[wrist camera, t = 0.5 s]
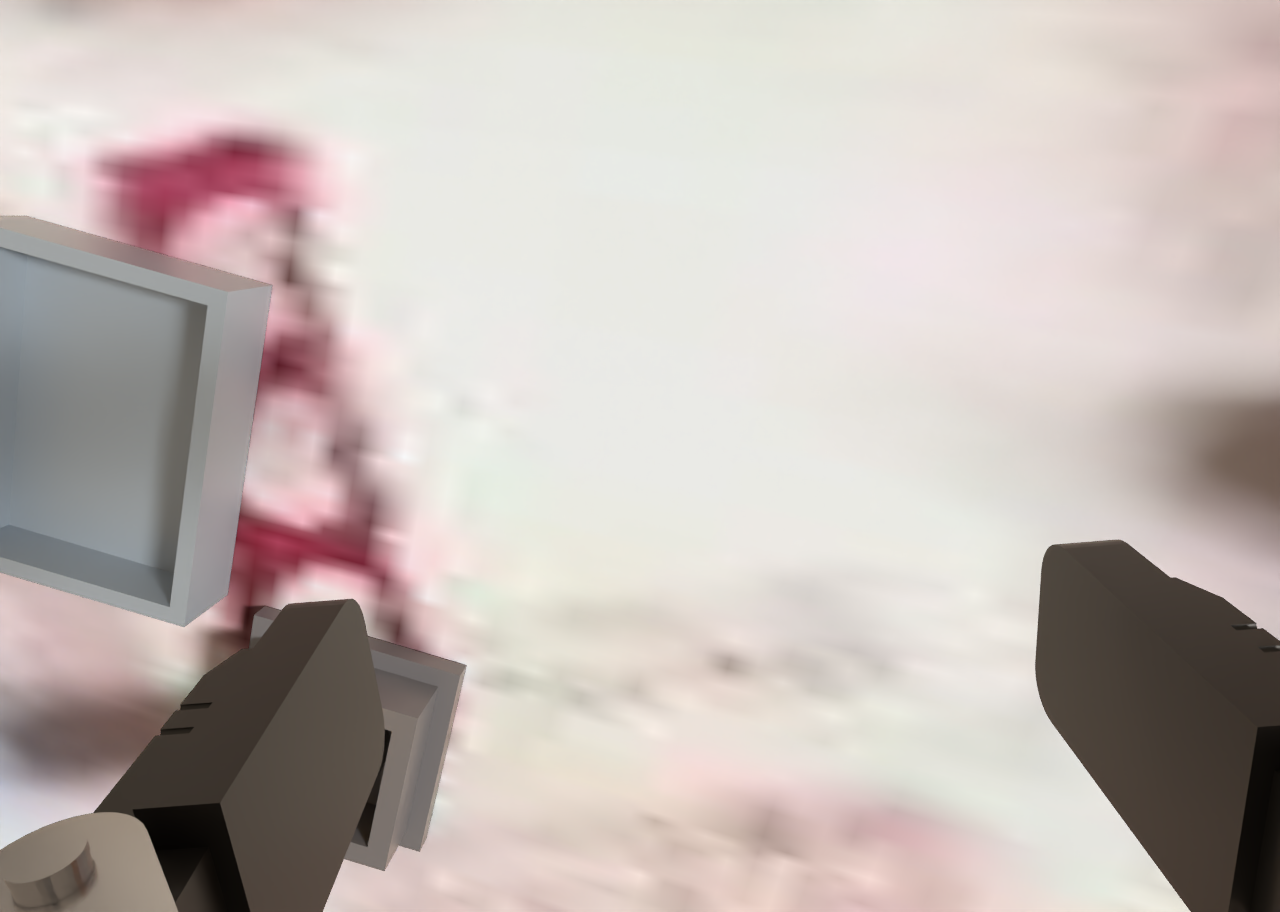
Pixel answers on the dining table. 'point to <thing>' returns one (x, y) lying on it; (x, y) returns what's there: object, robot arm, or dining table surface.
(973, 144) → the dining table surface
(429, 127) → the dining table surface
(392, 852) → the socket block
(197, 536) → the tray
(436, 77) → the dining table surface
